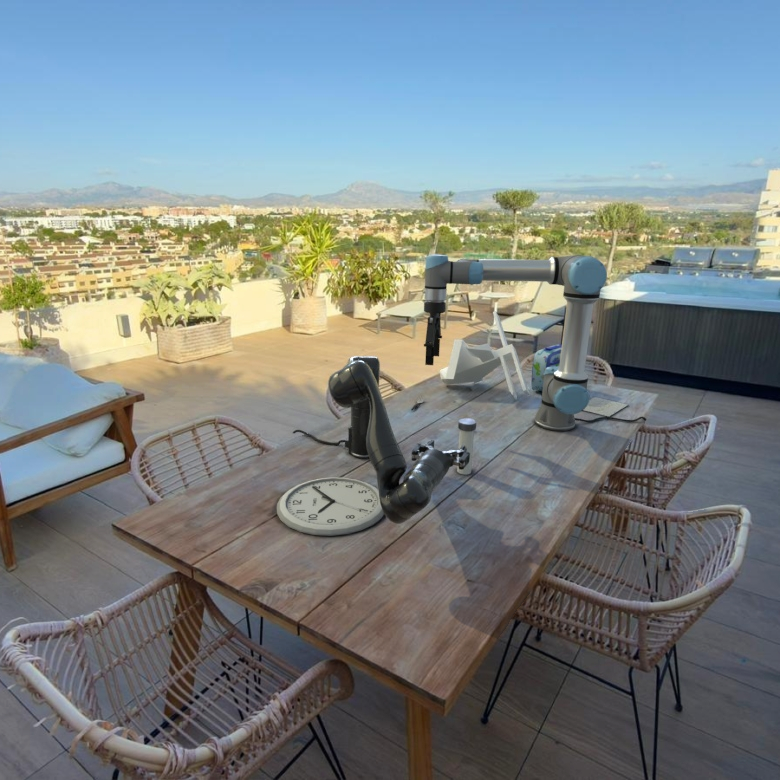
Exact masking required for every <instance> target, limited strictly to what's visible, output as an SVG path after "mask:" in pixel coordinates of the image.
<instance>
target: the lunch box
mask: <svg viewBox="0 0 780 780" xmlns="http://www.w3.org/2000/svg"><path fill="white" fill-rule="evenodd" d="M561 348H562V344H554V345H550V346H547V347H544V348H542V349H541V348H540V349H539V350H537V351H536V352H535V353H534V356H533V360H532V367H531V368H532V369H531V382H530V383H531V386H530V387H531V389H532V390H533V391H537V392H541V393H542V392H543V382H544V373H545V369H546V368H547V367H554V366H556V367H559V364H560V356H561Z"/></svg>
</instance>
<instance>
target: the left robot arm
mask: <svg viewBox="0 0 780 780" xmlns="http://www.w3.org/2000/svg"><path fill="white" fill-rule="evenodd" d="M379 359H380V358H379V357H377V356H361V355H360V356H358V355H357V356H356V355H355V356H350V358H348V359H347V362H346V364H345V365H344V366H343V367H342V368H341V369H339V370H337V371H335V372H334V373H332V374H331V375H330V376H329V377H328V381H327V386H328V391H329V394H330V396H331V398H332V400H333V401H334V402H335V404H336V405H338V406H339V407H341V408H343V409H348V408H350V425H349V426H348V427H347V429H348V431H347V432H348V437H347V438H345V439H340V440H338V442H331V441H325V440H323V439H322V440H321V439H318V438H317V437H315V436H314V435H312V434H311V433H308V432H306V431H304V430H301V429H294V431H292V434H296V433H301V434H303V435H305V436H307V437H309V438H312V439H313V440H314V441H316V442H317V443H321V444H324V445H329V446H340V444H341V443H344V448H347V449H348V454H349V455H352V456H353V457H355V458H359V459H369V460H370V463H371V465H372V467H373V469H374V472H375V474H376V482H377V489H378V491H379V499H380V504H381V508H382V510H383V513H384V516H385V517H386V519H388V520H389V521H390V522H392V523H393V524H397V525H400V524H404V523H405V522H407V521H408V520H410V519H411V518H412V517H414V516H415V515H417V514H419V513H420V512H421V511H423V510H424V509H425V508H426V507H427V506H428V505H429V504H430V502H431V500H432V496H433V495H432V494H433V492H434V490H435V488H436V487H437V486H439V485H440V483H442V480H444V478H445V476H446V474H447V473H448V472H449V471H450V468H452V467H453V466H456V467H458V466H459V469H460V470H463V469H464V468H465V467H466V465H467V464H468V463H469V460H470V452H467V448H466V447H465V445H462V446H461V448H460V449H459V448H458V449H457V450H456V449H450V450H440V449H437V448H435V440H434V439H431V440H429V441H427V442H426V443H424V444H422V443H416V445H415V446H414V447H413V449H411V461H412V462H413V465H412V466H411V468H410V469H409V471H408V472H407V468H408V465H407V461H406V459H405V457H404V455H403V452H402V449H401V448H400V446H399V444H398V441H397V439H396V437H395V434H394V432H393V429H392V426H391V422H390V417H389V415H388V412H387V409H386V405H385V402H384V399H383V396H382V393H381V390H380V377H381V376H380V375H381V363H380V360H379ZM307 433H308V434H307ZM458 454H459V457H458ZM405 472H407V473H406V474H405ZM404 474H405V475H404ZM403 476H404V477H403ZM402 477H403V480H402V482H400V481H401V478H402Z"/></svg>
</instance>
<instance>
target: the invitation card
mask: <svg viewBox="0 0 780 780" xmlns="http://www.w3.org/2000/svg"><path fill="white" fill-rule="evenodd" d="M628 406H629V404H627V403H623V402H618V401H614V400H609V399H605V398H601V397H596V396H593V397H592V398H589V403H588V405H587V406H586V408H585V409H584V410H583V411H584V412H587V413H593V414H596V415H600V416H603V417H612V416H613V415H614V414H616V413H617V412H619V411H621V410H623V409H624V408H626V407H628Z"/></svg>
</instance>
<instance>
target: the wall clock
mask: <svg viewBox="0 0 780 780" xmlns="http://www.w3.org/2000/svg"><path fill="white" fill-rule="evenodd" d="M276 515H277V517H278V518H279V520H280V521H281V522H282V523H283V524H285V525H286V526H287V527H288V528H290V529H293V530H295V531H297V532H299V533H303V534H308V535H312V536H327V537H328V536H329V537H331V536H332V537H333V536H342V535H350V534H352V533H356V532H361V531H363V530H366V529H368V528H369V527H372V526H373V525H375V524H376V523H378V522H379V521H380V520H381V519H382V518H383V517H384V516H385V514H384V513H383V510H382V508H381V504H380V499H379V491H378V487H376V486H374V485H372V484H371V483H369V482H365V481H362V480H359V479H355V478H349V477H338V476H337V477H335V476H333V477H332V476H331V477H322V478H317V479H312V480H307V481H305V482H302V483H299V484H297V485H295V486H293V487H292V488H290V489H288V490H287V491H286V492H285V493H284V494H283V495H281V496H280V498H279V499H278V502H277V503H276Z"/></svg>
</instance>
